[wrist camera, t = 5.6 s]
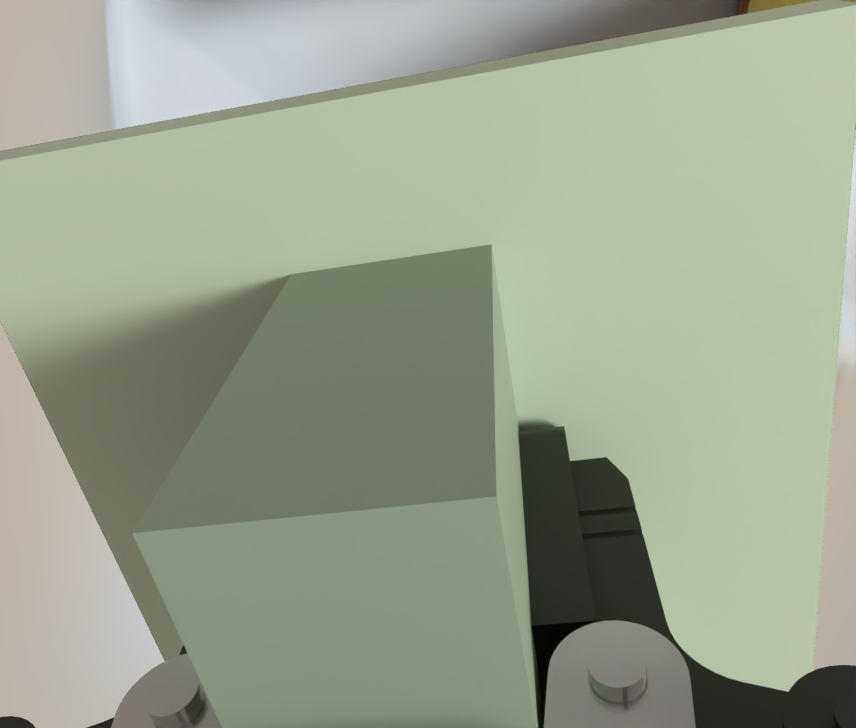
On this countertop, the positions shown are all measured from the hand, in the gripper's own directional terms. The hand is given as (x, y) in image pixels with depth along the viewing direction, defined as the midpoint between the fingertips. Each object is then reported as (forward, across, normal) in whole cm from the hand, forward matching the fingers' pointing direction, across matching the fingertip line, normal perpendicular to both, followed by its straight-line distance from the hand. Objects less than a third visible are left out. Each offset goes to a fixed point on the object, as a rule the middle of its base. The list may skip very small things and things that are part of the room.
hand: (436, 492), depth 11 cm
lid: (+1, 0, 0) cm, 1 cm away
